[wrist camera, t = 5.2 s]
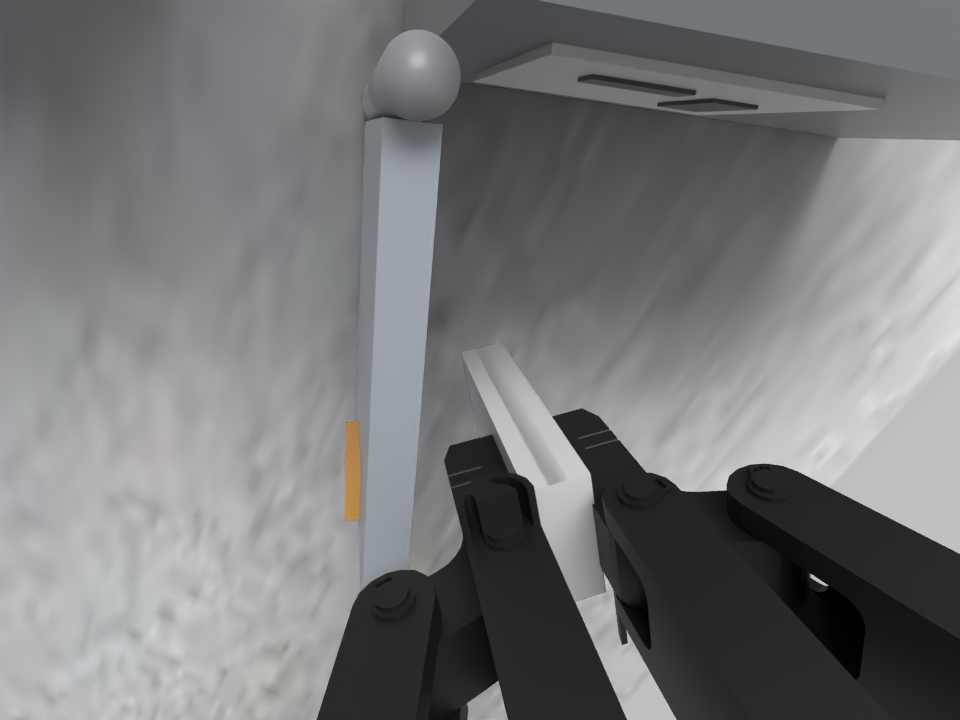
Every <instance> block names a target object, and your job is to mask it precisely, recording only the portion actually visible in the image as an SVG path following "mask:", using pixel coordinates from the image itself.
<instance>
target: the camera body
mask: <svg viewBox="0 0 960 720" xmlns="http://www.w3.org/2000/svg"><path fill="white" fill-rule="evenodd" d="M409 30H426V31H429V32H432V33H434V34H436V35H438V36H440V37H441V38H442V39H444V40H445V41H446V42H447V43H448V45H449V46H450V47H451V48H452V50H453V52H454V53H455V55H456V57H457V60H458V63H459V67H460V74H461V82H468V83H475V84H482V85H488V86H495V87H502V88H509V89H515V90H522V91H529V92H535V93H542V94H549V95H556V96H562V97H569V98H576V99H583V100H589V101H596V102H603V103H610V104H616V105H623V106H630V107H637V108H643V109H650V110H657V111H664V112H670V113H677V114H684V115H691V116H697V117H704V118H711V119H718V120H724V121H731V122H738V123H745V124H751V125H758V126H765V127H772V128H778V129H785V130H792V131H799V132H805V133H812V134H819V135H826V136H832V137H839V138H882V139H925V140H960V0H405V10H404V27H403V32H406V31H409Z"/></svg>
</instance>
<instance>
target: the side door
mask: <svg viewBox="0 0 960 720" xmlns="http://www.w3.org/2000/svg"><path fill="white" fill-rule="evenodd" d="M460 82H461V74H460V67H459V63H458V60H457V57H456V55H455V53H454V52H453V50H452V48H451V47H450V46H449V45H448V43H447V42H446V41H445V40H444V39H442V38H441V37H440V36H438V35H436V34H434V33H432V32H429V31H426V30H409V31H406V32H403V33H401V34H399V35H398V36H396V37H395V38H394V39H392V41H391V42H390V43H389V44H388V45H387V47H386V48H385V50H384V52H383V54H382V56H381V58H380V60H379V62H378V64H377V65H376V67H375V69H374V71H373V73H372V75H371V77H370V79H369V81H368V83H367V85H366V87H365V89H364V91H363V93H362V96H361V105H362V109H363V111H364V113H365V114H366V116H367V117H368V118H369V119H370V120H369V121H365V136H364V167H363V198H362V229H361V260H360V291H359V322H358V352H357V383H356V414H355V422H346V450H345V521H355V520H358V522H359V552H360V582H361V591H362V590H363V589H364V588H365V587H366V586H367V585H368V584H369V583H370V582H371V581H373V580H375V579H377V578H378V577H380V576H382V575H384V574H386V573H389V572H393V571H397V570H408V569H409V556H410V544H411V531H412V518H413V505H414V492H415V479H416V466H417V453H418V440H419V427H420V414H421V402H422V389H423V376H424V363H425V350H426V337H427V324H428V311H429V298H430V285H431V273H432V260H433V247H434V234H435V221H436V208H437V195H438V182H439V169H440V156H441V144H442V131H443V124H435V123H426V122H418V121H427V120H432V119H435V118H437V117H439V116H441V115H442V114H444V113H445V112H446V111H447V110H448V109H449V108H450V107H451V106H452V104H453V103H454V101H455V100H456V97H457V95H458V92H459V88H460Z"/></svg>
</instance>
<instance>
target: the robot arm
mask: <svg viewBox="0 0 960 720" xmlns="http://www.w3.org/2000/svg"><path fill="white" fill-rule="evenodd" d="M461 356H462V360H463V365H464V369H465V374H466V379H467V383H468V388H469V392H470V397H471V401H472V406H473V410H474V415H475V419H476V424H477V429H478V433H479V437H480V438H477V439H474V440H470V441H466V442H462V443H459V444H455V445H451V446H450V447H449V449H448V452H447V454H446V457H445V459H444V462H445V466H446V470H447V474H448V478H449V482H450V486H451V490H452V494H453V498H454V501H455V505H456V509H457V513H458V517H459V521H460V525H461V529H462V532H463V542H462V545H461V548H460V550H459V552H458V553H457V555H456V556H455V557H454V558H453V559H452V561H451V562H450V563H449V564H447V565H446V566H445V567H443V568H442V569H440V570H439V571H437V572H436V573H434V574H432V575H431V576H429V577H427V576H426V575H424V574H422V573H420V572H418V571H416V570H397V571H393V572H389V573H386V574H384V575H382V576H380V577H378V578H377V579H375V580H373V581H371V582H370V583H369V584H368V585H367V586H366V587H365V588H364V589H363V590H362V591H361V592H360V593H359V595H358V597H357V599H356V600H355V602H354V604H353V606H352V610H351V613H350V616H349V619H348V622H347V625H346V629H345V632H344V635H343V638H342V641H341V645H340V648H339V651H338V654H337V657H336V660H335V664H334V667H333V670H332V673H331V676H330V679H329V683H328V686H327V689H326V692H325V695H324V698H323V702H322V705H321V708H320V711H319V714H318V717H317V720H467V715H468V706H467V703H468V702H469V701H471V700H472V699H473V698H475V697H476V696H478V695H479V694H480V693H482V692H483V691H485V690H486V689H487V688H489V687H490V686H492V685H493V684H494V683H496V682H497V681H499V684H500V688H501V692H502V696H503V700H504V705H505V709H506V713H507V717H508V720H627V719H626V717H625V714H624V712H623V710H622V708H621V705H620V703H619V701H618V698H617V696H616V694H615V692H614V689H613V687H612V685H611V683H610V680H609V678H608V676H607V673H606V671H605V669H604V667H603V664H602V662H601V660H600V658H599V655H598V653H597V651H596V649H595V646H594V644H593V642H592V639H591V637H590V635H589V633H588V630H587V628H586V626H585V624H584V621H583V619H582V617H581V615H580V612H579V610H578V608H577V605H576V603H575V602H576V601H579V600H582V599H585V598H588V597H591V596H595V595H598V594H601V593H604V592H606V588H605V580H604V573H605V575H606V577H607V579H608V580H609V582H610V584H611V586H612V588H613V590H614V598H615V606H616V615H617V623H618V631H619V636H620V640H621V643H622V645H623V644H626V643H628V641H627V633H626V630H627V631H628V633H629V635H630V637H631V639H632V640H633V642H634V644H635V646H636V648H637V649H638V651H639V653H640V655H641V656H642V658H643V660H644V662H645V664H646V665H647V667H648V669H649V671H650V673H651V674H652V676H653V678H654V680H655V682H656V683H657V685H658V687H659V689H660V691H661V692H662V694H663V696H664V698H665V699H666V701H667V703H668V705H669V707H670V708H671V710H672V712H673V714H674V716H675V717H676V719H677V720H960V554H959V553H957V552H955V551H953V550H951V549H949V548H946V547H945V546H943V545H941V544H939V543H937V542H935V541H933V540H931V539H929V538H927V537H925V536H923V535H921V534H919V533H917V532H915V531H913V530H911V529H909V528H908V527H906V526H903V525H902V524H899V523H897V522H896V521H894V520H892V519H890V518H888V517H886V516H884V515H882V514H880V513H878V512H876V511H874V510H872V509H870V508H868V507H866V506H864V505H862V504H860V503H858V502H856V501H854V500H852V499H851V498H848V497H847V496H845V495H842V494H841V493H839V492H837V491H835V490H833V489H831V488H829V487H827V486H825V485H823V484H821V483H819V482H817V481H815V480H813V479H811V478H809V477H807V476H805V475H803V474H801V473H799V472H797V471H795V470H792V469H789V468H787V467H784V466H779V465H772V464H754V465H748V466H745V467H742V468H739V469H737V470H736V471H735V472H734V473H732V474H731V475H730V476H729V479H728V482H727V491H708V492H685V491H681V490H680V489H679V488H678V487H677V486H676V485H675V484H674V483H672V482H671V481H670V480H668V479H667V478H665V477H662V476H659V475H656V474H653V473H646V472H645V470H644V469H643V468H642V467H641V466H640V465H639V463H638V462H637V461H636V460H635V459H634V457H633V456H632V455H631V454H630V453H629V451H628V450H627V449H626V448H625V447H624V446H623V444H622V443H621V442H620V441H619V440H617V437H616V436H615V435H614V434H613V432H612V431H610V430H609V428H608V427H607V425H606V424H605V423H604V422H603V421H602V419H601V418H600V417H599V416H597V415H595V414H593V413H591V412H588V411H586V410H584V409H578V410H574V411H571V412H567V413H563V414H560V415H556V416H551V415H550V413H549V412H548V410H547V409H546V407H545V406H544V404H543V403H542V401H541V400H540V398H539V397H538V395H537V394H536V392H535V391H534V389H533V388H532V386H531V385H530V384H529V382H528V381H527V379H526V378H525V376H524V375H523V373H522V372H521V370H520V369H519V367H518V366H517V364H516V363H515V361H514V360H513V358H512V357H511V355H510V354H509V353H508V351H507V350H506V348H505V347H504V345H503V344H502V342H499V343H495V344H491V345H487V346H484V347H480V348H476V349H472V350H468V351H464V352H461ZM603 571H604V573H603ZM810 573H811V574H812V575H814V576H815V577H817V578H818V579H820V580H821V581H823V582H824V583H826V584H827V585H828V586H824V585H822V584H820V583H818V582H816V581H815V580H813V579H812V578H810Z"/></svg>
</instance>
